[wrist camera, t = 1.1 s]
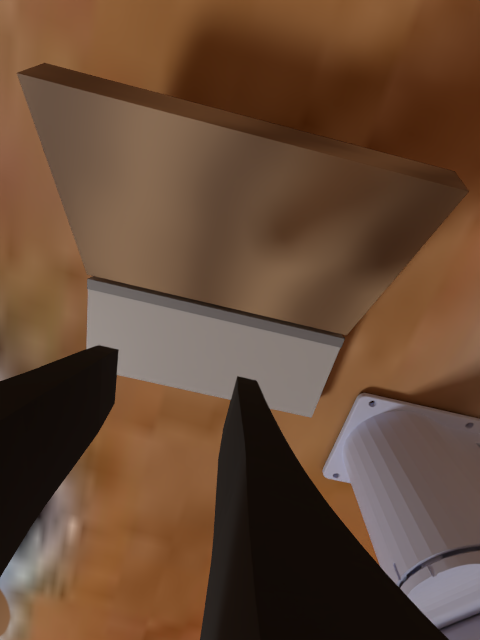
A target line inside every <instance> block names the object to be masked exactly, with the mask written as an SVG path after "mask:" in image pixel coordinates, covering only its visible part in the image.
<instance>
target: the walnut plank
mask: <svg viewBox="0 0 480 640" xmlns="http://www.w3.org/2000/svg"><path fill="white" fill-rule="evenodd" d="M17 75H18V78H19V81H20V84H21V87H22V90H23V92H24V95H25V98H26V101H27V104H28V107H29V110H30V112H31V115H32V118H33V121H34V124H35V127H36V130H37V133H38V135H39V138H40V141H41V144H42V147H43V150H44V153H45V155H46V158H47V161H48V164H49V167H50V170H51V173H52V175H53V178H54V181H55V184H56V187H57V190H58V193H59V195H60V198H61V201H62V204H63V207H64V210H65V213H66V215H67V218H68V221H69V224H70V227H71V230H72V233H73V235H74V238H75V241H76V244H77V247H78V250H79V253H80V256H81V258H82V261H83V264H84V267H85V270H86V273H87V275H91V276H96V277H100V278H104V279H108V280H113V281H117V282H121V283H125V284H130V285H134V286H138V287H143V288H147V289H151V290H155V291H160V292H164V293H168V294H172V295H177V296H181V297H185V298H189V299H194V300H198V301H202V302H207V303H211V304H215V305H219V306H224V307H228V308H232V309H236V310H241V311H245V312H249V313H253V314H258V315H262V316H266V317H270V318H275V319H279V320H283V321H288V322H292V323H296V324H300V325H305V326H309V327H313V328H317V329H322V330H326V331H330V332H334V333H339V334H343V335H347V334H348V333H349V332H350V331H351V330H352V328H353V327H354V326H355V325H356V324H357V323H358V321H359V320H360V319H361V318H362V317H363V316H364V314H365V313H366V312H367V311H368V310H369V308H370V307H371V306H372V305H373V304H374V303H375V301H376V300H377V299H378V298H379V297H380V295H381V294H382V293H383V292H384V291H385V290H386V288H387V287H388V286H389V285H390V284H391V283H392V281H393V280H394V279H395V278H396V277H397V275H398V274H399V273H400V272H401V271H402V270H403V268H404V267H405V266H406V265H407V264H408V263H409V261H410V260H411V259H412V258H413V257H414V255H415V254H416V253H417V252H418V251H419V250H420V248H421V247H422V246H423V245H424V244H425V243H426V241H427V240H428V239H429V238H430V237H431V235H432V234H433V233H434V232H435V231H436V230H437V228H438V227H439V226H440V225H441V224H442V222H443V221H444V220H445V219H446V218H447V217H448V215H449V214H450V213H451V212H452V211H453V210H454V208H455V207H456V206H457V205H458V204H459V202H460V201H461V200H462V199H463V198H464V197H465V195H466V194H467V193H468V192H469V191H468V190H467V188H466V187H465V185H464V184H463V182H462V181H461V180H460V178H459V177H458V175H457V174H456V173H455V171H451V170H447V169H444V168H440V167H436V166H432V165H428V164H425V163H421V162H417V161H413V160H410V159H406V158H402V157H398V156H394V155H391V154H387V153H383V152H379V151H376V150H372V149H368V148H364V147H360V146H357V145H353V144H349V143H345V142H342V141H338V140H334V139H330V138H326V137H323V136H319V135H315V134H311V133H308V132H304V131H300V130H296V129H292V128H289V127H285V126H281V125H277V124H274V123H270V122H266V121H262V120H258V119H255V118H251V117H247V116H243V115H239V114H236V113H232V112H228V111H224V110H221V109H217V108H213V107H209V106H205V105H202V104H198V103H194V102H190V101H187V100H183V99H179V98H175V97H171V96H168V95H164V94H160V93H156V92H153V91H149V90H145V89H141V88H137V87H134V86H130V85H126V84H122V83H119V82H115V81H111V80H107V79H103V78H100V77H96V76H92V75H88V74H84V73H81V72H77V71H73V70H69V69H66V68H62V67H58V66H54V65H50V64H47V63H43V64H40V65H38V66H35V67H32V68H29V69H26V70H24V71H21V72H18V73H17Z"/></svg>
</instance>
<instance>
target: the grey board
mask: <svg viewBox="0 0 480 640" xmlns="http://www.w3.org/2000/svg"><path fill="white" fill-rule="evenodd" d="M87 289H88V313H87V349H88V348H91V347H94V346H98V345H101V346H105V347H110V348H114V349H119V352H118V365H117V375H120V376H125V377H130V378H134V379H139V380H143V381H148V382H152V383H157V384H161V385H166V386H170V387H175V388H179V389H184V390H189V391H193V392H198V393H202V394H207V395H211V396H216V397H220V398H225V399H229V400H231V398H232V394H233V390H234V387H235V383H236V379H237V376H239V377H244V378H248V379H252V380H257V382H258V384H259V386H260V388H261V391H262V393H263V395H264V398H265V400H266V402H267V404H268V406H269V408H270V409H275V410H279V411H284V412H288V413H293V414H297V415H302V416H307V417H312V415H313V412H314V410H315V408H316V405H317V403H318V400H319V398H320V396H321V393H322V391H323V388H324V386H325V383H326V381H327V379H328V376H329V374H330V371H331V369H332V367H333V364H334V362H335V359H336V357H337V354H338V352H339V350H340V348H341V347H342V344H343V342H344V340H345V339H344V337H343V336H342V334H339V333H334V332H330V331H326V330H322V329H317V328H313V327H309V326H305V325H300V324H296V323H292V322H288V321H283V320H279V319H275V318H270V317H266V316H262V315H258V314H253V313H249V312H245V311H241V310H236V309H232V308H228V307H224V306H219V305H215V304H211V303H207V302H202V301H198V300H194V299H189V298H185V297H181V296H177V295H172V294H168V293H164V292H160V291H155V290H151V289H147V288H143V287H138V286H134V285H130V284H125V283H121V282H117V281H113V280H108V279H104V278H100V277H96V276H93V277H91V278H88V279H87Z"/></svg>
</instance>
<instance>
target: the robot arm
mask: <svg viewBox="0 0 480 640" xmlns="http://www.w3.org/2000/svg"><path fill="white" fill-rule="evenodd" d="M118 352H119V349H114V348H110V347H105V346H101V345H98V346H94V347H91V348H88V349H86V350H83V351H80V352H78V353H75V354H72V355H70V356H67V357H65V358H62V359H60V360H57V361H55V362H52V363H49V364H47V365H44V366H41V367H39V368H36V369H34V370H31V371H28V372H26V373H23V374H20V375H17V376H14V377H11V378H8V379H6V380H3V381H0V577H1V575H2V573H3V572H4V570H5V568H6V567H7V565H8V563H9V562H10V560H11V559H12V557H13V555H14V554H15V552H16V550H17V549H18V547H19V545H20V544H21V542H22V540H23V539H24V537H25V536H26V534H27V532H28V531H29V529H30V527H31V526H32V524H33V523H34V521H35V520H36V518H37V517H38V515H39V514H40V513H41V511H42V510H43V508H44V507H45V505H46V504H47V502H48V501H49V500H50V498H51V497H52V496H53V494H54V493H55V491H56V490H57V489H58V487H59V486H60V485H61V483H62V482H63V481H64V479H65V478H66V476H67V475H68V474H69V472H70V471H71V470H72V468H73V467H74V465H75V464H76V463H77V461H78V460H79V459H80V457H81V456H82V454H83V453H84V452H85V450H86V449H87V448H88V446H89V445H90V443H91V442H92V441H93V439H94V438H95V436H96V435H97V433H98V432H99V430H100V428H101V427H102V425H103V423H104V421H105V420H106V418H107V416H108V414H109V412H110V410H111V409H112V407H113V405H114V403H115V390H116V378H117V365H118ZM370 401H374V402H373V403H369V402H370ZM467 423H468V424H467ZM335 473H336V474H335ZM323 475H324V476H325V477H326V478H329V479H333V480H338V481H343V482H348V483H351V485H352V487H353V490H354V493H355V496H356V499H357V502H358V505H359V507H360V510H361V513H362V516H363V519H364V522H365V524H366V527H367V530H368V533H369V536H370V539H371V542H372V544H373V547H374V550H375V553H376V556H377V559H378V561H379V564H380V566H379V565H378V564H377V563H376V561H375V560H374V559H373V558H372V557H371V556H370V555H369V553H368V552H367V551H366V550H365V549H364V548H363V546H362V545H361V544H360V543H359V542H358V540H357V539H356V538H355V537H354V535H353V534H352V533H351V532H350V531H349V529H348V528H347V527H346V526H345V525H344V523H343V522H342V521H341V520H340V518H339V517H338V516H337V515H336V513H335V512H334V511H333V510H332V508H331V507H330V506H329V504H328V503H327V502H326V500H325V499H324V498H323V496H322V495H321V493H320V492H319V491H318V489H317V488H316V486H315V485H314V484H313V482H312V481H311V479H310V478H309V477H308V475H307V474H306V472H305V471H304V469H303V467H302V466H301V464H300V463H299V461H298V460H297V458H296V456H295V455H294V453H293V451H292V450H291V448H290V446H289V445H288V443H287V441H286V439H285V438H284V436H283V434H282V432H281V430H280V428H279V426H278V424H277V422H276V421H275V419H274V417H273V415H272V413H271V411H270V408H269V406H268V404H267V402H266V400H265V398H264V395H263V393H262V391H261V388H260V386H259V384H258V382H257V380H252V379H248V378H244V377H239V376H237V379H236V383H235V387H234V390H233V394H232V398H231V401H230V405H229V409H228V413H227V416H226V420H225V424H224V428H223V434H222V440H221V446H220V452H219V459H218V474H217V489H216V506H215V522H214V538H213V549H212V559H211V567H210V574H209V581H208V588H207V595H206V603H205V610H204V617H203V623H202V630H201V637H200V640H480V419H479V418H474V417H470V416H465V415H461V414H457V413H452V412H448V411H443V410H439V409H434V408H430V407H426V406H421V405H417V404H412V403H408V402H404V401H399V400H395V399H390V398H386V397H381V396H377V395H373V394H368V393H362V394H360V395H358V397H357V398H356V400H355V402H354V405H353V407H352V409H351V411H350V413H349V415H348V417H347V419H346V421H345V423H344V426H343V428H342V430H341V432H340V434H339V436H338V438H337V440H336V442H335V445H334V447H333V449H332V451H331V453H330V455H329V457H328V459H327V461H326V463H325V466H324V468H323Z"/></svg>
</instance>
